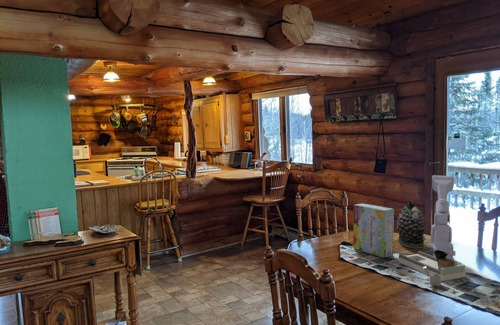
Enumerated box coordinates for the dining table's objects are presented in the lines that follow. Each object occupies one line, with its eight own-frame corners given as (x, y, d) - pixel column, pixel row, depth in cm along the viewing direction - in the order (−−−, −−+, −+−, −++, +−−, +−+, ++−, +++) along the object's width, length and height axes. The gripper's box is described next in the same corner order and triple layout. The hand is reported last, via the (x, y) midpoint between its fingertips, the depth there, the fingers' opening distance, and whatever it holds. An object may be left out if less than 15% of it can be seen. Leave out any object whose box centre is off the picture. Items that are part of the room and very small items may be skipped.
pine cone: (431, 249, 223) (432, 205, 220) (404, 250, 223) (405, 206, 221) (416, 239, 244) (417, 199, 241) (391, 239, 244) (392, 199, 241)
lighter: (439, 284, 175) (440, 266, 174) (440, 285, 173) (441, 268, 172) (422, 283, 176) (422, 265, 176) (423, 284, 175) (423, 267, 174)
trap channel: (419, 258, 209) (419, 248, 209) (465, 276, 183) (465, 265, 182) (398, 261, 204) (398, 251, 204) (441, 281, 178) (442, 269, 178)
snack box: (394, 255, 214) (395, 208, 212) (384, 258, 209) (384, 210, 207) (362, 246, 232) (362, 202, 229) (352, 248, 227) (352, 204, 224)
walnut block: (446, 268, 187) (446, 257, 187) (455, 271, 183) (455, 261, 182) (438, 269, 186) (438, 259, 185) (446, 273, 181) (447, 262, 180)
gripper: (423, 235, 191) (422, 262, 193) (447, 243, 178) (446, 272, 179) (434, 233, 194) (433, 260, 195) (459, 241, 180) (458, 270, 182)
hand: (440, 266), depth 187 cm, fingers closed
